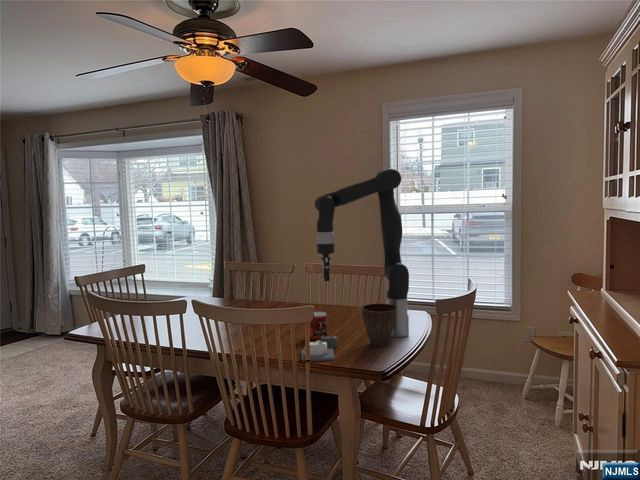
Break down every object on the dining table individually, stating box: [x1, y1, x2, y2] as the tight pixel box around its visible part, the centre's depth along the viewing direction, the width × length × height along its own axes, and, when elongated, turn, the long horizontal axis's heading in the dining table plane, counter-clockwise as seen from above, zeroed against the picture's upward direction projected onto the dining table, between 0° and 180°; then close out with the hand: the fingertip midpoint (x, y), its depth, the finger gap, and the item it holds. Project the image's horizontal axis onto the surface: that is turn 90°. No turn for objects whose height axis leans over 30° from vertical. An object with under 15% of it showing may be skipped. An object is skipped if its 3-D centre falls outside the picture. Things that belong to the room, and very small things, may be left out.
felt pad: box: [300, 348, 335, 362], centre depth 181 cm, size 13×11×1 cm
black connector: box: [316, 335, 339, 349], centre depth 191 cm, size 9×4×4 cm, turn 91°
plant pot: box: [361, 303, 397, 347], centre depth 193 cm, size 15×15×16 cm
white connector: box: [309, 341, 328, 355], centre depth 181 cm, size 9×4×4 cm, turn 91°
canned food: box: [309, 311, 328, 341], centre depth 205 cm, size 8×8×11 cm
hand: (326, 279), depth 195 cm, fingers open, 8 cm apart
